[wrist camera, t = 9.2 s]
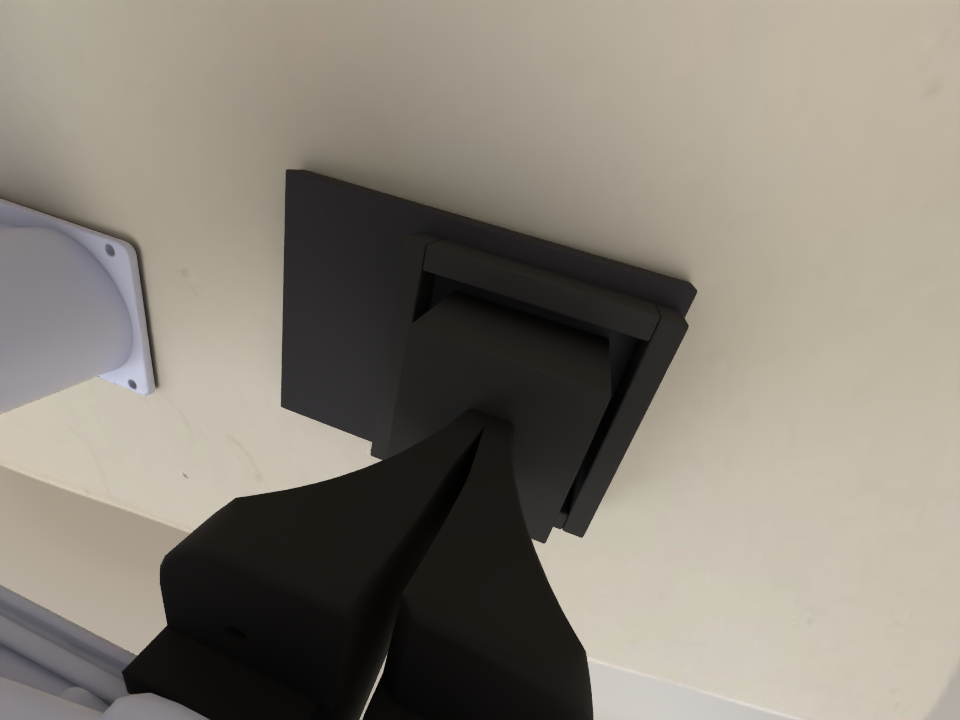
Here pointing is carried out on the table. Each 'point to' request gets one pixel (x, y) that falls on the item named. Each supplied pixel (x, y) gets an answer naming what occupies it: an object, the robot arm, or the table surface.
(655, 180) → the table surface
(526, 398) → the black square block
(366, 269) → the base pad
